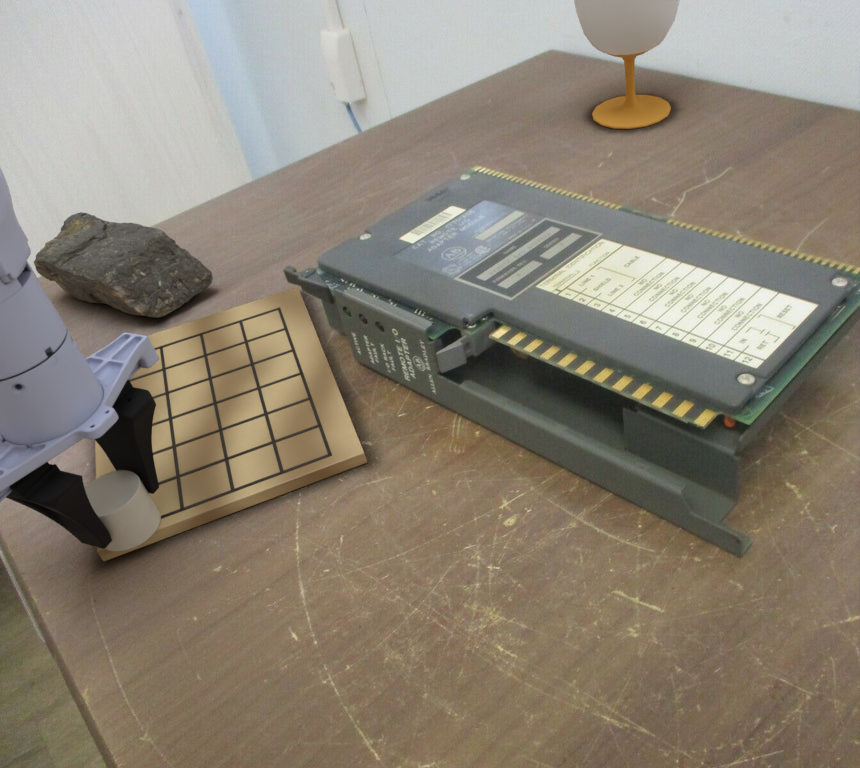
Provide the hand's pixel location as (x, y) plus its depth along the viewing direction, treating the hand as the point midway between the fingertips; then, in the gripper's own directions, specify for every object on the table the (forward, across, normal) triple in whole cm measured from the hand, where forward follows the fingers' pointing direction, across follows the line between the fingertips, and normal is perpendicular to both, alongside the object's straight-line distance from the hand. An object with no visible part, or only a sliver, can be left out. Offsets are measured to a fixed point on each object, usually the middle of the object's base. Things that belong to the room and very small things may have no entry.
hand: (121, 513), depth 54 cm
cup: (+3, +68, -16) cm, 70 cm away
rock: (+3, +24, +21) cm, 32 cm away
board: (+2, +13, +3) cm, 13 cm away
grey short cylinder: (+1, 0, 0) cm, 1 cm away
